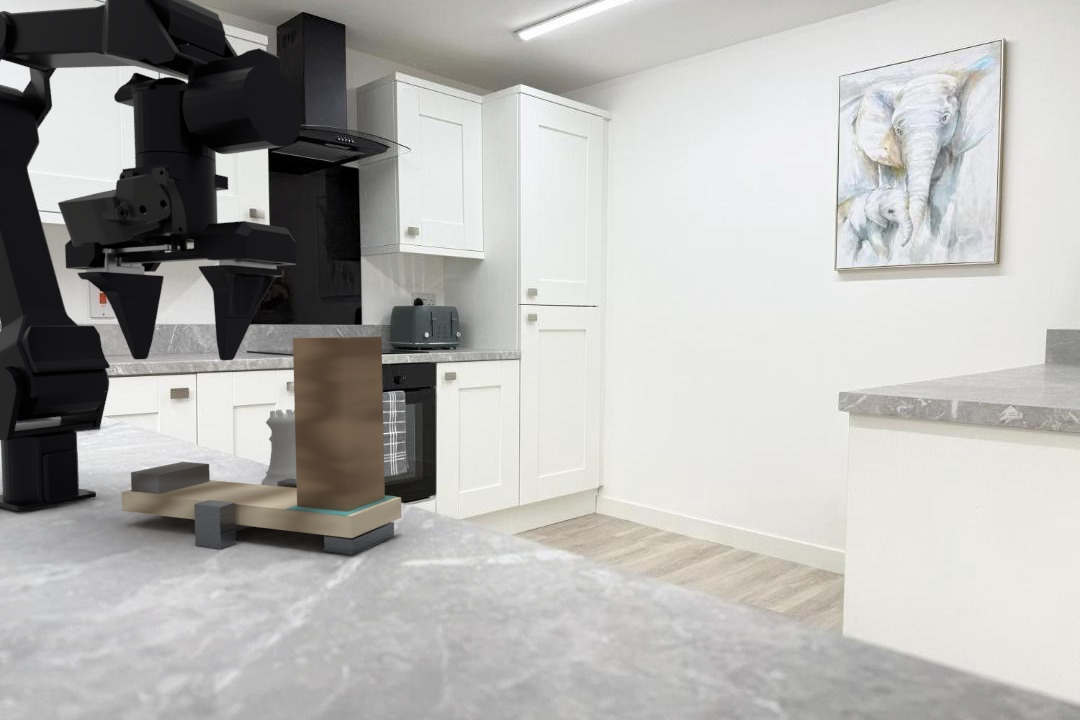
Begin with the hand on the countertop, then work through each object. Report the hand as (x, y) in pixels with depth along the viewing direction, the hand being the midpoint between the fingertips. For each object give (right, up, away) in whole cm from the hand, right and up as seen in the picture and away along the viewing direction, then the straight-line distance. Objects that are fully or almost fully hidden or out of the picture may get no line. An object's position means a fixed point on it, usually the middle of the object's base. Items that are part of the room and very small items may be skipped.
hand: (182, 359), depth 60 cm
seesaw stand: (+11, -13, -3) cm, 17 cm away
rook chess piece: (+5, -13, +9) cm, 17 cm away
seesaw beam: (+7, -13, -2) cm, 14 cm away
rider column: (+14, -10, -5) cm, 18 cm away
